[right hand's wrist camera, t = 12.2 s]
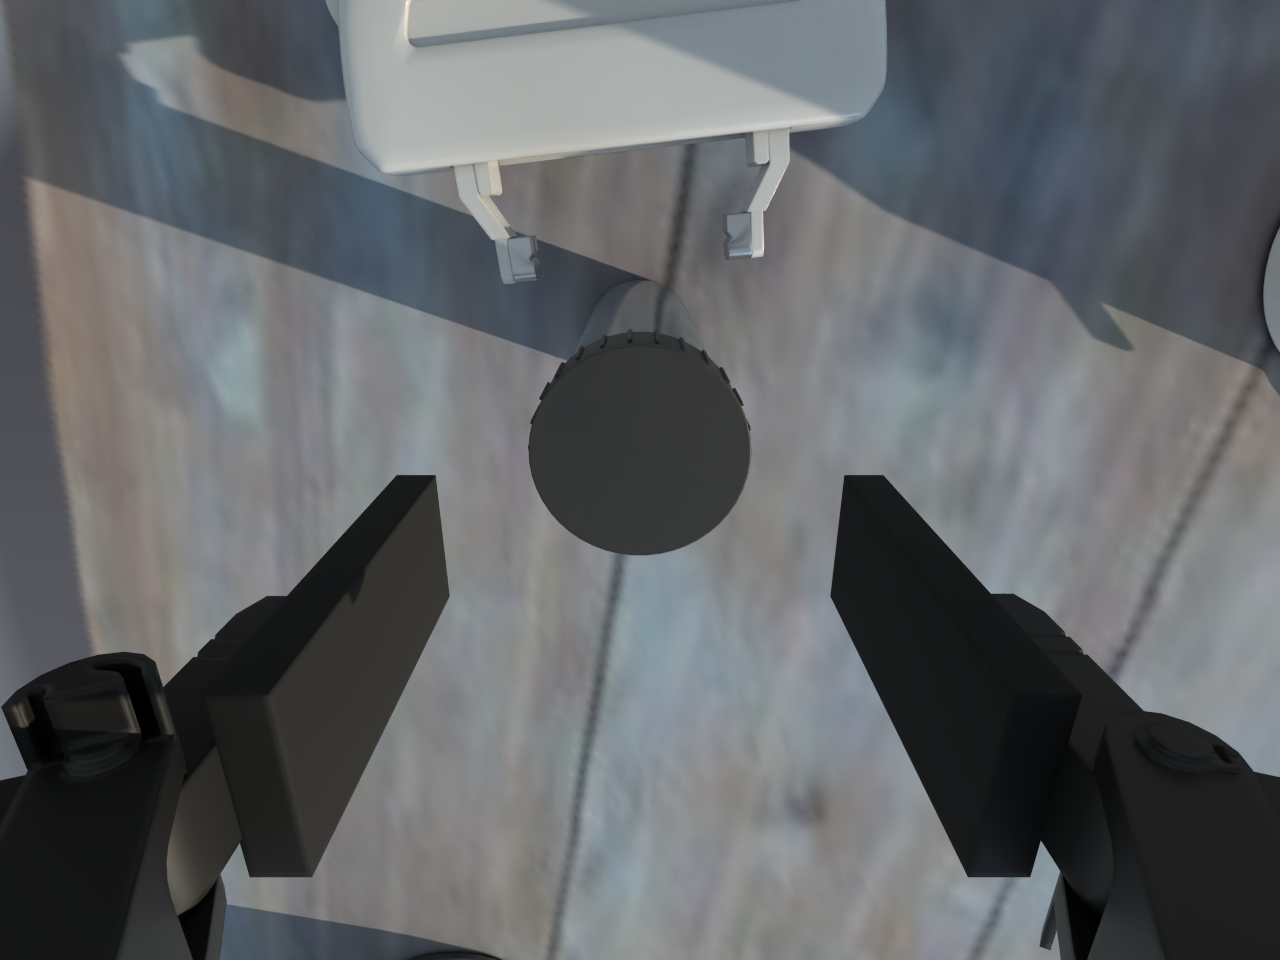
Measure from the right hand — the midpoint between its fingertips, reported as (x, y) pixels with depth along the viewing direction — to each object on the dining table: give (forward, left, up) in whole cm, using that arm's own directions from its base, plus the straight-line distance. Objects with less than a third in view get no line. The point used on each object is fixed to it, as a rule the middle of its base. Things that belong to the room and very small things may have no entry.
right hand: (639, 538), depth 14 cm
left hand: (+1, +4, -18) cm, 19 cm away
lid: (0, 0, -5) cm, 5 cm away
